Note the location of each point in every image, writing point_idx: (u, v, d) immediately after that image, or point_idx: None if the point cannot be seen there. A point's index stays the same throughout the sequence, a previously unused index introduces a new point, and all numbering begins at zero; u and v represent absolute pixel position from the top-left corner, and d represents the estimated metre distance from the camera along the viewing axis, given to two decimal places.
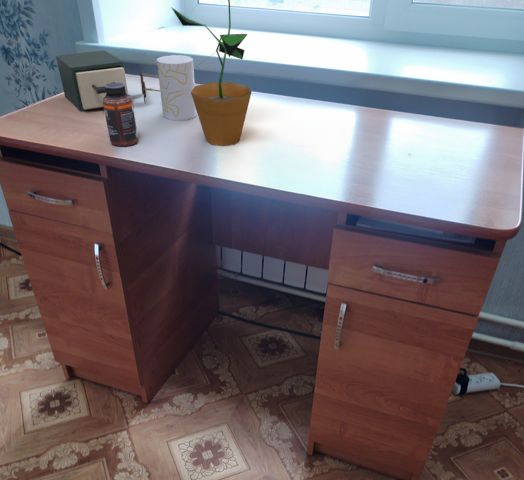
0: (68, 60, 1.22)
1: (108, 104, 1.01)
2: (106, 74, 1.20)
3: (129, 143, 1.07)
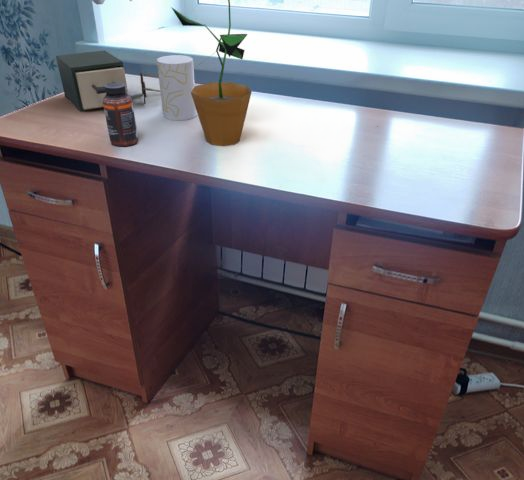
0: (68, 60, 1.22)
1: (108, 104, 1.01)
2: (106, 74, 1.20)
3: (129, 143, 1.07)
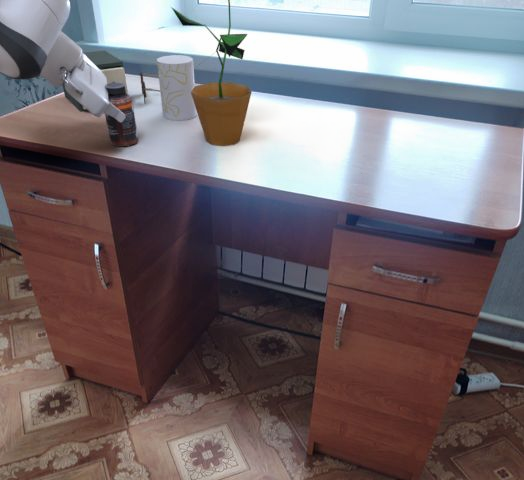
0: None
1: None
2: (106, 74, 1.20)
3: (129, 143, 1.07)
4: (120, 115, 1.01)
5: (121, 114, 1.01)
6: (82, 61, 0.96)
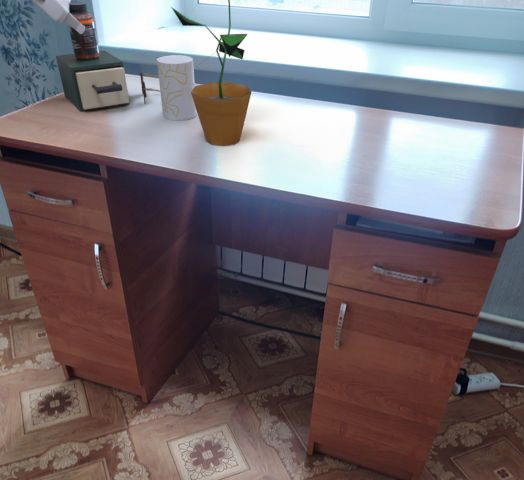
0: (68, 60, 1.22)
1: None
2: (106, 74, 1.20)
3: (91, 57, 1.22)
4: (80, 27, 1.16)
5: (81, 26, 1.16)
6: None
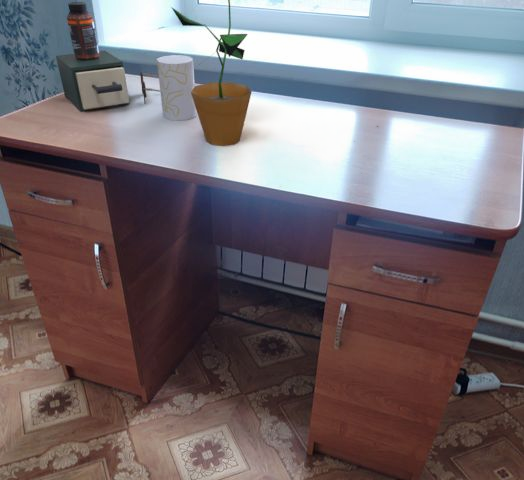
0: (68, 60, 1.22)
1: (71, 20, 1.17)
2: (106, 74, 1.20)
3: (91, 57, 1.22)
4: None
5: None
6: None
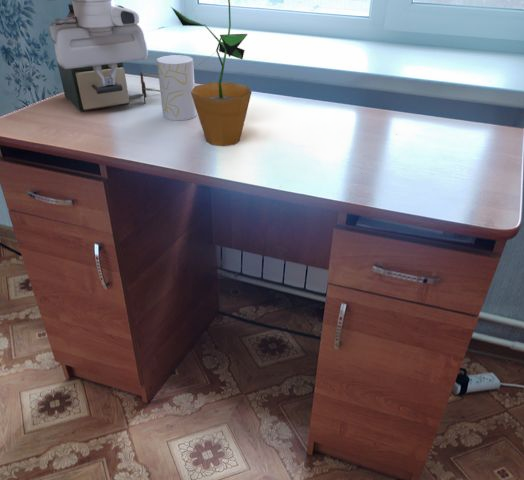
0: None
1: None
2: (106, 74, 1.20)
3: None
4: (101, 81, 1.17)
5: (102, 82, 1.16)
6: (98, 31, 1.08)
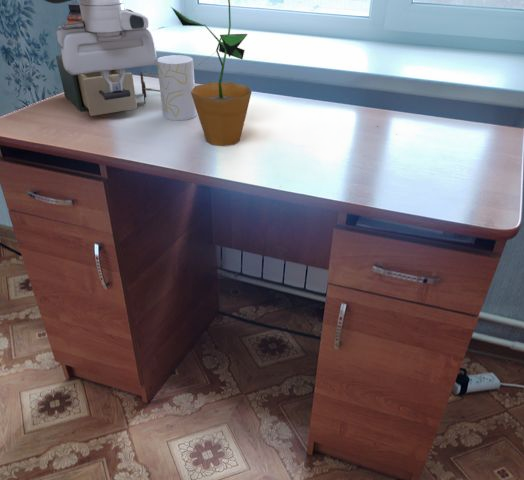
0: None
1: (71, 20, 1.17)
2: (114, 79, 1.17)
3: None
4: (109, 87, 1.13)
5: (110, 88, 1.13)
6: (106, 36, 1.05)
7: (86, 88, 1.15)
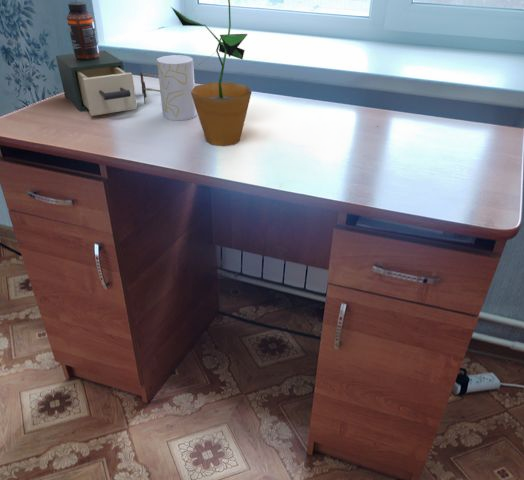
0: (68, 60, 1.22)
1: (71, 20, 1.17)
2: (114, 80, 1.17)
3: (91, 57, 1.22)
4: None
5: None
6: None
7: (86, 88, 1.15)
